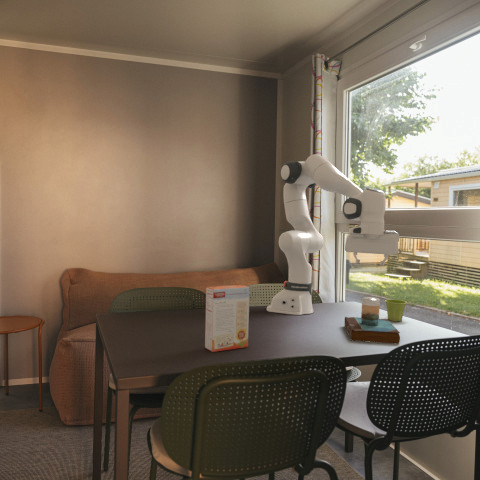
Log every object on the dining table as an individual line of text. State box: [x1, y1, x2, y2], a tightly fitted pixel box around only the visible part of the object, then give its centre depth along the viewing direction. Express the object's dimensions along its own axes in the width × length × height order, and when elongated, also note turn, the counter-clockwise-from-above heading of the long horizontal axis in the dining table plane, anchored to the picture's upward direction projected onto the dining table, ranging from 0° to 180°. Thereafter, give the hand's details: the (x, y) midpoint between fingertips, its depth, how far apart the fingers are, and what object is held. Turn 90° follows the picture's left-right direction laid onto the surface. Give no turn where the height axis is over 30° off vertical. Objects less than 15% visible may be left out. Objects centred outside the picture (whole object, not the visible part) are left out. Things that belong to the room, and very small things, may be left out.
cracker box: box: [204, 284, 251, 353], centre depth 152 cm, size 14×6×21 cm, turn 121°
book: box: [344, 316, 401, 345], centre depth 177 cm, size 23×18×5 cm
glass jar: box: [360, 296, 381, 326], centre depth 177 cm, size 7×7×10 cm
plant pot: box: [384, 299, 407, 322], centre depth 206 cm, size 9×9×9 cm
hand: (369, 264), depth 178 cm, fingers open, 8 cm apart
